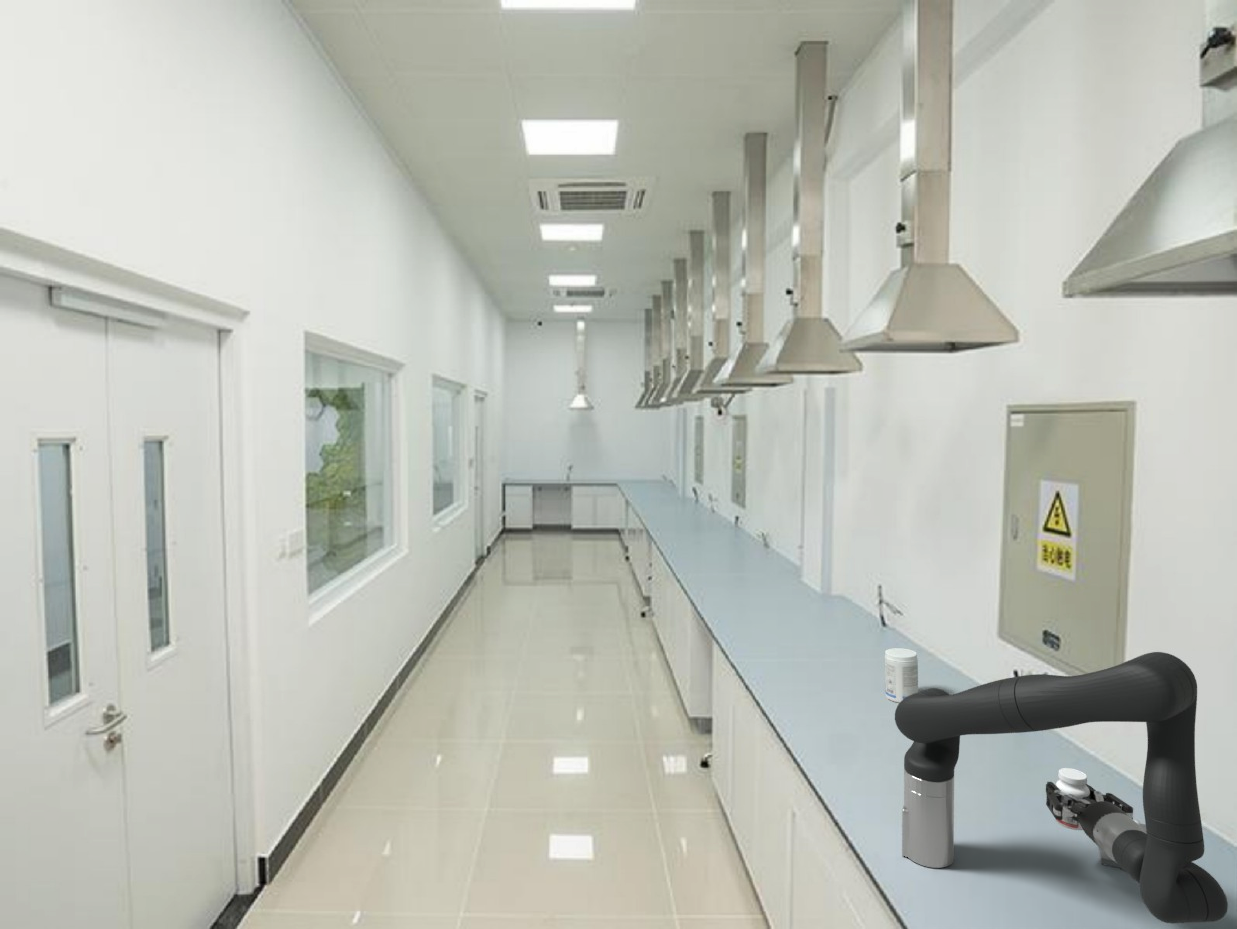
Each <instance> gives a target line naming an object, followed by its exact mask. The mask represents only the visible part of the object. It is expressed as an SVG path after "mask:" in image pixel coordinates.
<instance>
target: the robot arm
mask: <svg viewBox="0 0 1237 929" xmlns="http://www.w3.org/2000/svg"><path fill="white" fill-rule="evenodd" d="M1197 702H1198V683H1197V679H1196V677H1195V674H1194V672H1193V671H1192V669H1191V668H1190V666H1188V664H1187V663H1185V661H1183V660H1182V659H1181V658H1179V657H1178V656H1175V655H1173V654H1170V653H1166V652H1163V651H1152V652H1147V653H1144V654H1141V655H1139V656H1136V657H1134V658H1132V659H1130V660H1127V661H1125V662H1122V663H1120V664H1117V665H1114V666H1111V667H1108V668H1105V669H1101V670H1097V671H1092V672H1087V673H1083V674H1080V675H1079V674H1078V675H1065V676H1064V675H1055V674H1041V673H1040V674H1036V673H1035V674H1026V675H1020V676H1014V677H1008V678H1002V679H997V680H994V681H990V682H987V683H984V684H980V685H977V686H974V687H971V688H969V689H965V690H963V691H960V692H956V693H953V694H949V693H948V692H947V691H945V690H943V689H941V688H938V687H937V688H936V687H932V688H927V689H924V690H921V691H918V693H915V694H912V695H909V696H907V697H906V698H904V699H903V700H902V701H901V702H900V703H897V706H896V708H895V712H894V721H895V725H896V727H897V729H898V730H899V733H901V734H902V735H903V736H904V737H906V738H907V739H909V740H910V741H912V744H911V745H910V747H909V748H908V749H907V751H906V752H905V754H904V758H903V759H904V760H903V767H904V768H903V806H902V810H901V856H902V857H904V856H905V858H907V857H908V859H909V860H911V861H912V862H914V863H916V864H917V865H921V866H923V867H927V868H934V869H939V868H946V867H949V866H951V865H952V864H953V863H954V857H955V856H954V853H955V848H954V847H955V845H954V844H955V842H954V841H955V838H954V837H955V834H954V833H955V823H954V822H955V769H956V765H957V764H958V760H959V757H960V746H961V744H960V743H961V740H960V739H961V736H967V735H999V734H1000V735H1001V734H1020V733H1033V732H1043V731H1048V730H1055V729H1061V728H1062V729H1063V728H1069V727H1074V726H1078V725H1082V724H1083V725H1084V724H1089V723H1095V722H1096V723H1100V722H1101V723H1103V722H1107V723H1108V722H1111V723H1114V722H1116V723H1117V722H1123V723H1125V722H1126V723H1145V725H1146V733H1147V735H1146V736H1147V751H1146V760H1145V768H1144V774H1143V783H1142V806H1143V813H1144V820H1145V821H1144V822H1145V825H1146V831H1147V833H1146V832H1145V830H1144V829H1143V828H1142V827H1141V826H1140V825H1138V824H1137V823H1136V822H1135V821H1134V807H1132V805H1129V804H1128V803H1126V802H1125V801H1124V800H1122V799H1120V798H1119V797H1117V796H1116V795H1114V794H1113V793H1111V792H1105V794H1103V793H1102V792H1101V791H1099V790H1096V789H1095V788H1093V787H1092V786H1091V785H1089V784H1088V783H1086V786H1087V787H1088V788H1089V790H1090V799H1089V800H1085V799H1080V798H1078V797H1076V796H1074V795H1072V794H1065V793H1063V792H1062V791H1061V790H1060V789H1059V788H1058V787H1057V786H1056V783H1054V782H1052V781H1047V782H1046V784H1045V795H1046V801H1045V805H1046V806H1047V808H1048V810H1049V811H1050V813H1051V814H1052V816H1053V817H1054V820H1056V819H1057V820H1062V817H1063V816H1067V817H1071V818H1072V819H1073V820H1075V821H1077V822H1078V823H1080V825H1081V827H1082V829H1083V830H1082V831H1083V832H1084V834H1086V836H1087V837H1088V838H1089V839H1090V840H1091V841H1092V842H1093V843H1094V844H1096V846H1097V848H1098V847H1099V848H1100V849H1101V850H1102V851H1103V852H1104V853H1105V854H1106V855H1107V856H1108V857H1110V858H1111V859H1112V860H1113V861H1115V862H1116V863H1117V864H1118V865H1119V866H1120V867H1121V868H1120V869H1122V870H1123V871H1124V872H1125V873H1126V874H1127V875H1128V876H1129V877H1131V878H1132V879H1133V880H1134V881H1135V882H1137V883H1138V884H1139V889H1140V895H1141V899H1142V901H1143V904H1144V905H1145V907H1146V909H1147V910H1148V911H1149V913H1150V914H1151V915H1152V916H1153V917H1155V919H1157V920H1158V921H1160V922H1162V923H1165V924H1187V923H1188V924H1189V923H1191V924H1193V923H1209V922H1211V923H1212V922H1217V921H1219V920H1221V919H1223V918H1224V917H1225V916H1226V915H1227V912H1228V907H1229V904H1228V899H1227V896H1226V893H1225V891H1224V889H1223V888H1222V886H1221V884H1220V883H1219V881H1217V880H1216V878H1214V876H1213V875H1211V874H1210V873H1209V872H1208V871H1207V870H1205V868H1203V867H1201V866H1200V865H1198V864H1197V863H1195V861H1197V860H1199V859H1201V858H1202V857H1203V856H1204V854H1205V840H1204V832H1203V826H1202V819H1201V816H1202V815H1201V811H1200V803H1199V795H1198V787H1197V772H1196V747H1195V746H1196V743H1195V740H1196V738H1195V737H1196V736H1195V735H1196V719H1197V718H1196V716H1197V705H1198V703H1197ZM1062 798H1063V799H1064V803H1063V802H1062ZM1072 801H1074V802H1073V804H1072ZM1099 848H1098V849H1099Z"/></svg>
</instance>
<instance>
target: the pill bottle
mask: <svg viewBox="0 0 1237 929" xmlns="http://www.w3.org/2000/svg"><path fill="white" fill-rule="evenodd" d="M1057 774H1058V775H1057V776H1058V778H1059V779H1058V780H1057V781H1056V783H1055V785H1056V786H1057V787H1058V788H1059V789H1060V790H1061V791H1062V792H1063V793H1065V794H1072V795H1074V796H1076V797H1078V798H1080V799H1085V800H1089V799H1090V790H1089V788H1088V787H1087V786H1086V784H1088V776H1087V774H1086V773H1084V772H1082V771H1081V770H1079V769H1075V768H1070V767H1063V768H1060V769H1059V770H1058V773H1057ZM1062 802H1063V803H1064V799H1063V798H1062ZM1073 802H1074V801H1072V804H1073ZM1055 821H1056V822H1057V824H1058V825H1060V826H1061V827H1063V828H1065V829H1069V830H1073V831H1084V830H1083V829H1082V827H1081V825H1080V823H1078V822H1077V821H1075V820H1073V819H1072V818H1071V817H1067V816H1063V817H1062V820H1057V819H1055Z"/></svg>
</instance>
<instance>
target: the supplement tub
mask: <svg viewBox="0 0 1237 929" xmlns="http://www.w3.org/2000/svg"><path fill="white" fill-rule="evenodd" d="M884 653H885V654H884V678H885V679H884V680H885V682H884V684H885V697H886V698H887V699H888V700H889V701H891V702H894V703H897V704H899V703H900V702H901V701H902V700H903V699H904V698H906V697H907V696H909V695H912V694H915V693H918V692H919V669H918V668H919V665H918V662H919V660H918V653H917V652H916V651H914V650H912V649H908V648H902V647H901V648H899V647H895V648H888V649H886V650H885V652H884Z"/></svg>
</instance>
